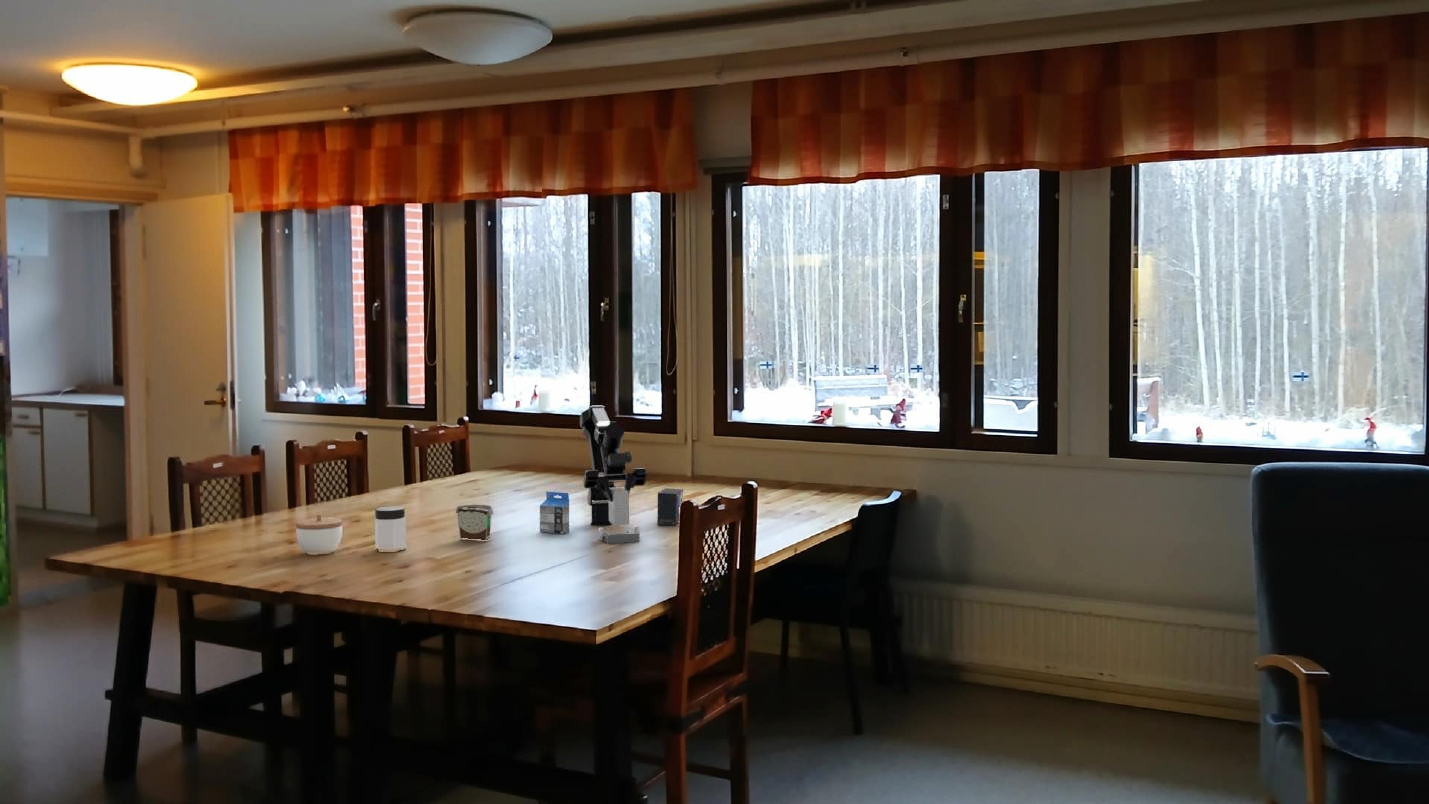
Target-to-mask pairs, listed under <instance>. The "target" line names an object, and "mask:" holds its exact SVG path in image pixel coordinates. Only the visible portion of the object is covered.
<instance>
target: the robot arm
mask: <svg viewBox="0 0 1429 804" xmlns="http://www.w3.org/2000/svg"><path fill="white" fill-rule="evenodd" d="M579 427H580V428H581V429H582V435H584V437H585V438H586V439H587V440H588V444H589V445H588V446H589V453H590V458H591V459H590V460H591V466H592V469H588V470H585V472H584V477H583V480H582V481H583V487H584V488H585V489H588V491H587V498H586V499H587V505H588V506H589V507H591V522H590V525H591V526H593V525H595V526H596V525H598V526H602V525H604V526H605V525H606V526H607V525H608V526H609V525H613V524H612V523H611V522H610V521H609V501H610V502H612V494H611V491H610V488H617V486H616V485H615V483H614V482H625V483H624V488H625V489H626V490H628V491H629V494H630V493H631V489H634V488H635V487H638V486H645V485H646V481H647V479H648V471H647V469H646V468H645V467H636V468H633V469H632V472H630V473H627V472H625V471H626V465H627V464H631V462H632V460H633V458H632V452H631V451H624V452H621V449H620V448H621V447H622V445H623V440H624V437H625V429H624V427H623V426H621V425H620V424H618V423H617V421H610V419H609V417H608V411H607V410H606V406H604V405H591V406H589V407H588V408H587V409H586V410H584V411H582V412H581V413H580V416H579Z"/></svg>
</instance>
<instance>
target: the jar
mask: <svg viewBox="0 0 1429 804" xmlns="http://www.w3.org/2000/svg"><path fill="white" fill-rule="evenodd" d="M374 510H375V511H374V514H375V515H374V516H375V517H374V534H375V535H374V537H375V538H374V539H375V540H374V541H375V549H376V548H378V549H396V548H404V547H406V548H407V526H406V525H407V523H406V517H405V514H406V513H405V512H406V511H405V507H403V506H400V505H398V506H397V505H395V506H391V505H390V506H381V507H378V508H375V509H374Z"/></svg>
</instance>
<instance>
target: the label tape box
mask: <svg viewBox="0 0 1429 804" xmlns="http://www.w3.org/2000/svg"><path fill="white" fill-rule="evenodd" d="M545 494H546V495H545V496H546V497H545V498H546V499H545V500H544V501H543V502H541V504H539V532H540V531H541V532H540V533H551V534H559V533H560V534H562V535H564V533H565V534H568V533H570V498H569V497H570V496H569V494H570V493H569V492H561V491H559V492H557V491H545ZM557 496H558V497H557Z"/></svg>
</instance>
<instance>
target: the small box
mask: <svg viewBox="0 0 1429 804" xmlns="http://www.w3.org/2000/svg"><path fill="white" fill-rule="evenodd" d="M682 501H683V502H684V489H681V488H668V487H667V488H664V489H662V490H660V491H659V492H657V521H656V522H657V523H656V525H657V526H674V525H675V526H677V525H679V523H678V521H679V507H680V504H681V502H682ZM676 524H677V525H676Z"/></svg>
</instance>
